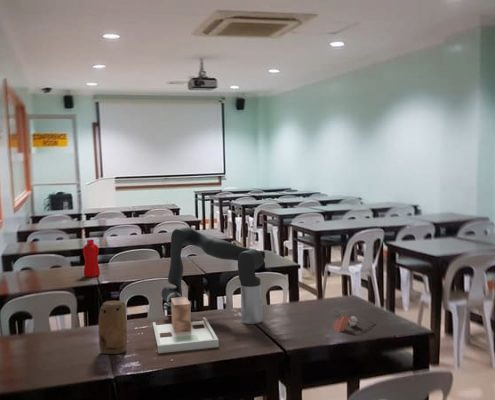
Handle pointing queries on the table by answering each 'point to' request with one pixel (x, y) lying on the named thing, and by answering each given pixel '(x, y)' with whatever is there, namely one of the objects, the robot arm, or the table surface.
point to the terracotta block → (181, 314)
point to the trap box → (185, 338)
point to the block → (112, 327)
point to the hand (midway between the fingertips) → (179, 310)
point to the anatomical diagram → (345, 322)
